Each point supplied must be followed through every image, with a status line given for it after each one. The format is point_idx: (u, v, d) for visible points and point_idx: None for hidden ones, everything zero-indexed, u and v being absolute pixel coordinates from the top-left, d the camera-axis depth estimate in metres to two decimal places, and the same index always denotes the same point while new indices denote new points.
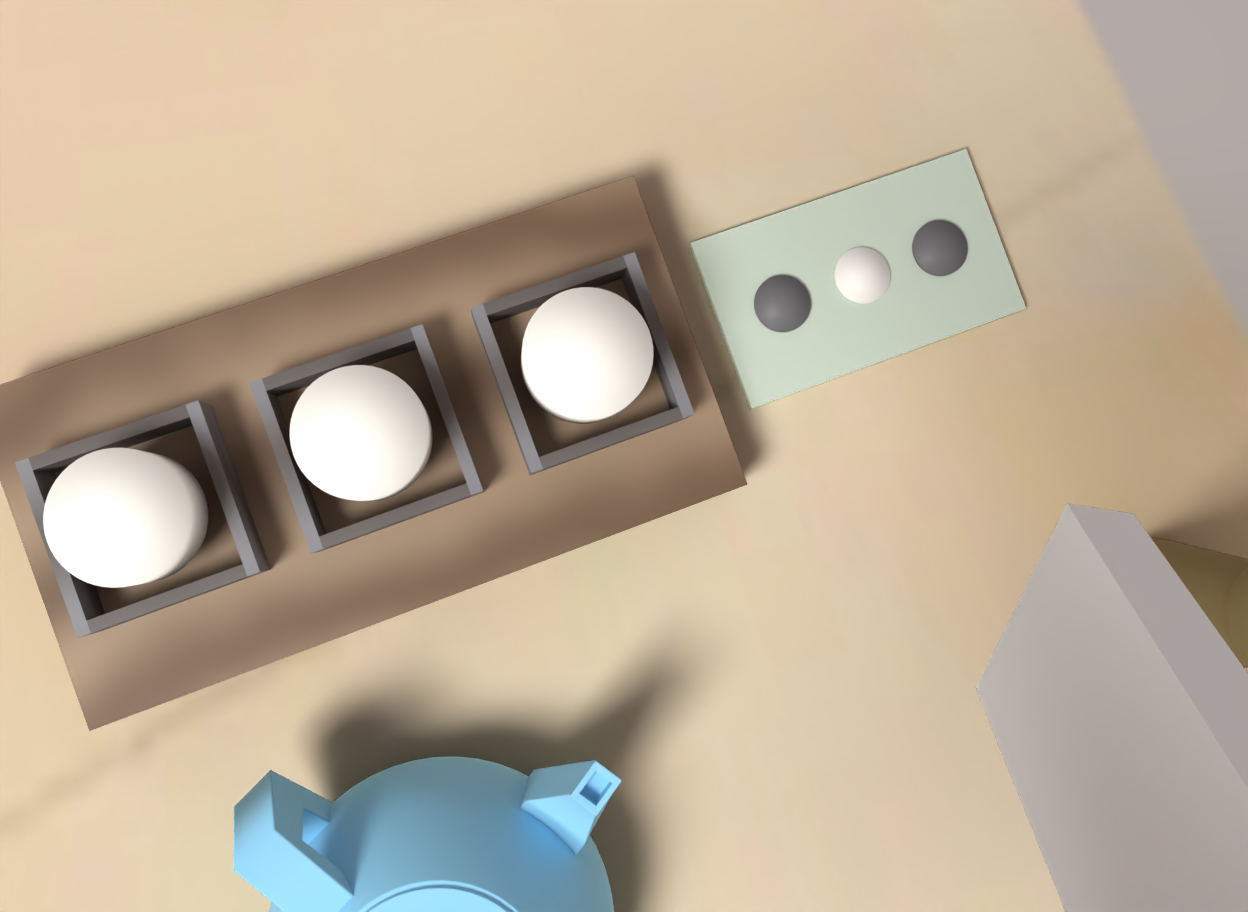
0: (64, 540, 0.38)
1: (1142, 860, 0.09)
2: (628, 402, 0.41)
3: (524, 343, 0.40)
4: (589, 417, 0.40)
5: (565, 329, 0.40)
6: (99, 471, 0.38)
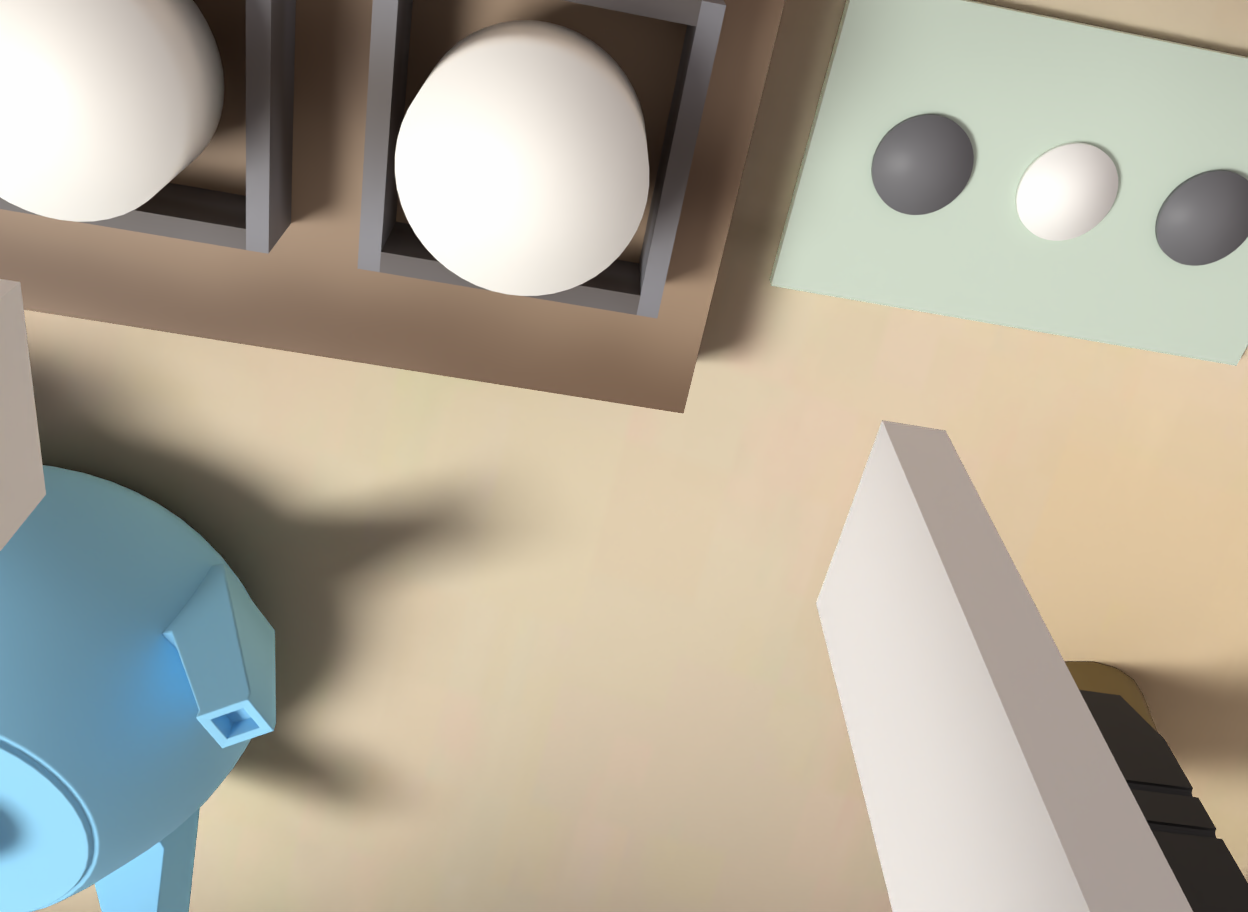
0: None
1: (912, 730, 0.10)
2: (545, 291, 0.22)
3: (417, 101, 0.20)
4: (469, 278, 0.22)
5: (504, 118, 0.20)
6: None
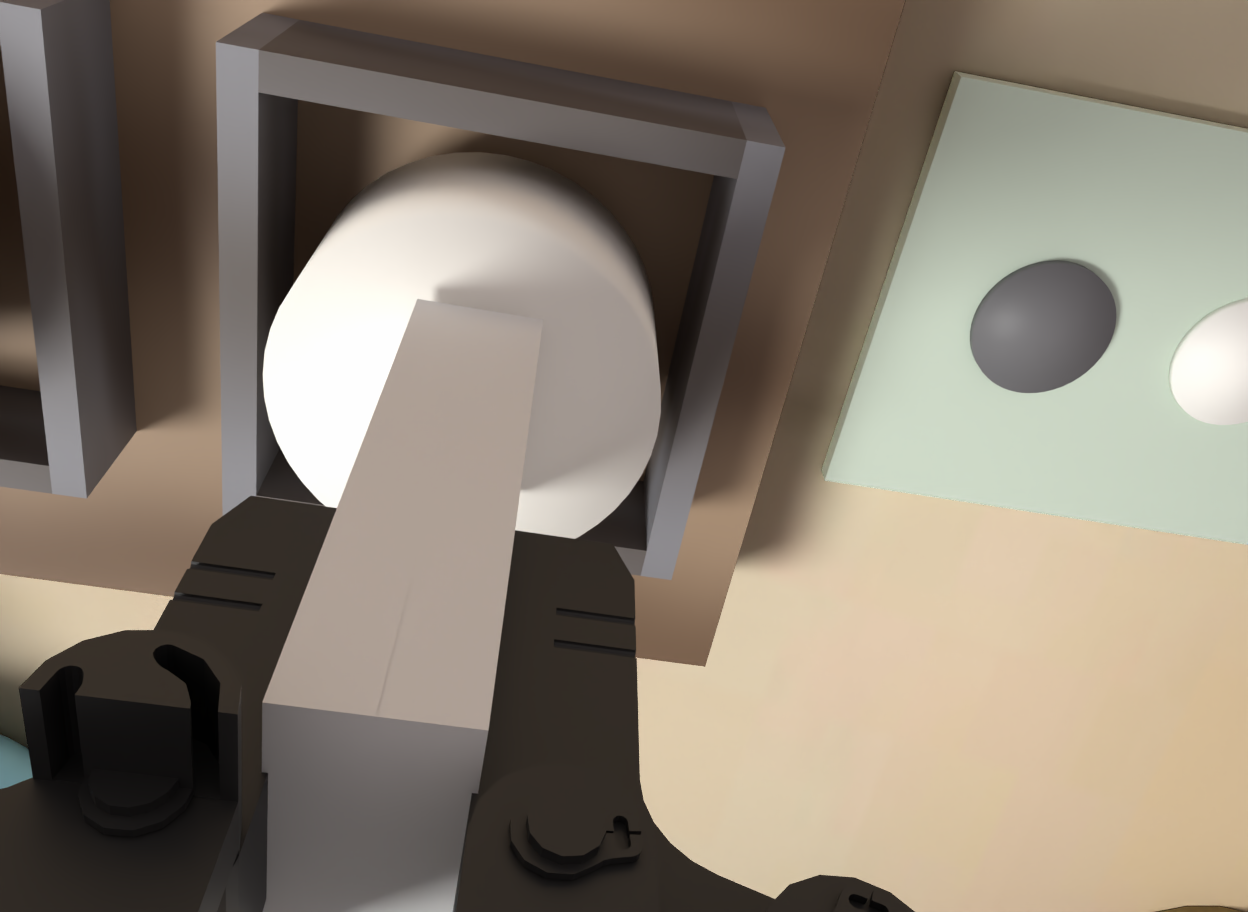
0: None
1: None
2: None
3: (293, 296, 0.13)
4: None
5: None
6: None
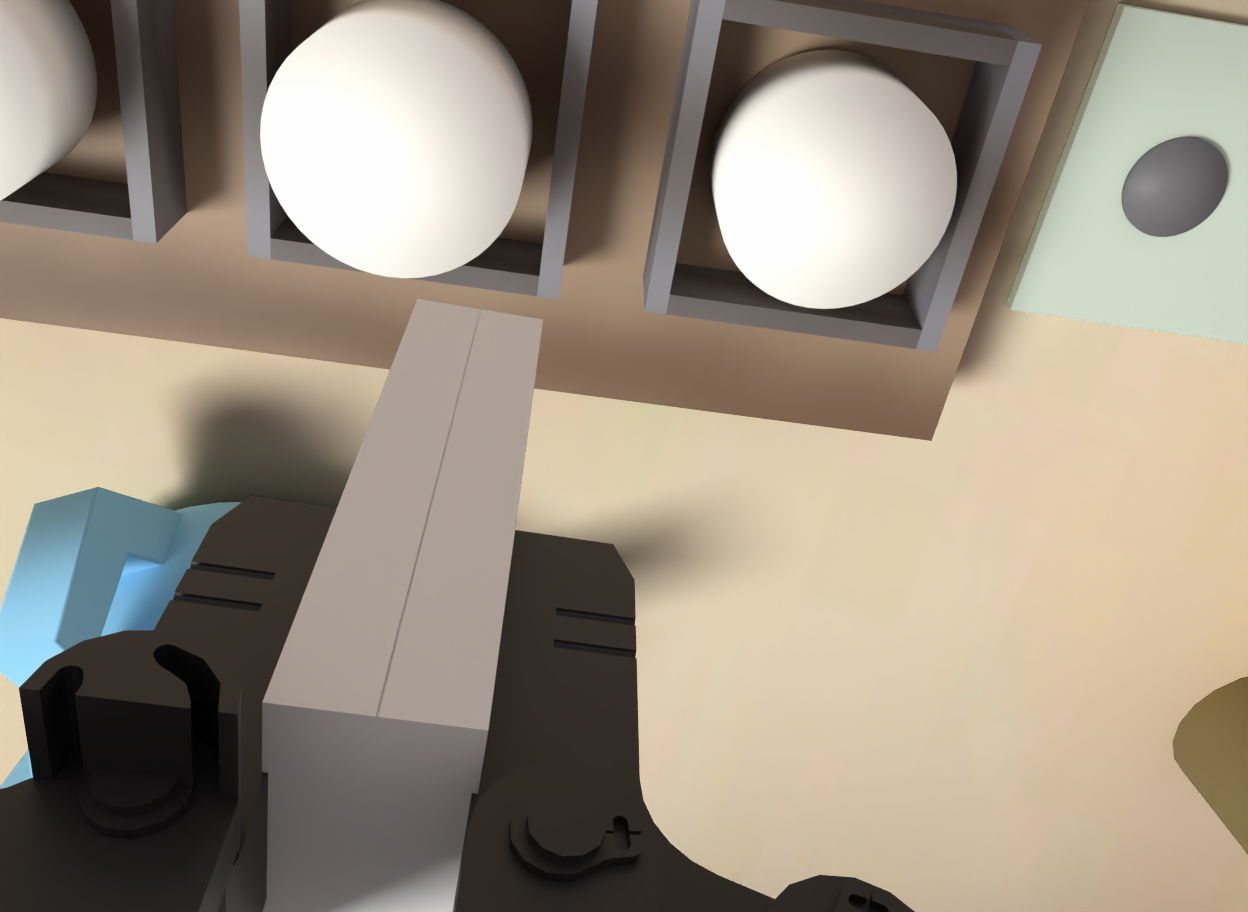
0: None
1: None
2: (844, 304, 0.24)
3: (747, 131, 0.22)
4: (773, 294, 0.24)
5: (827, 144, 0.22)
6: None
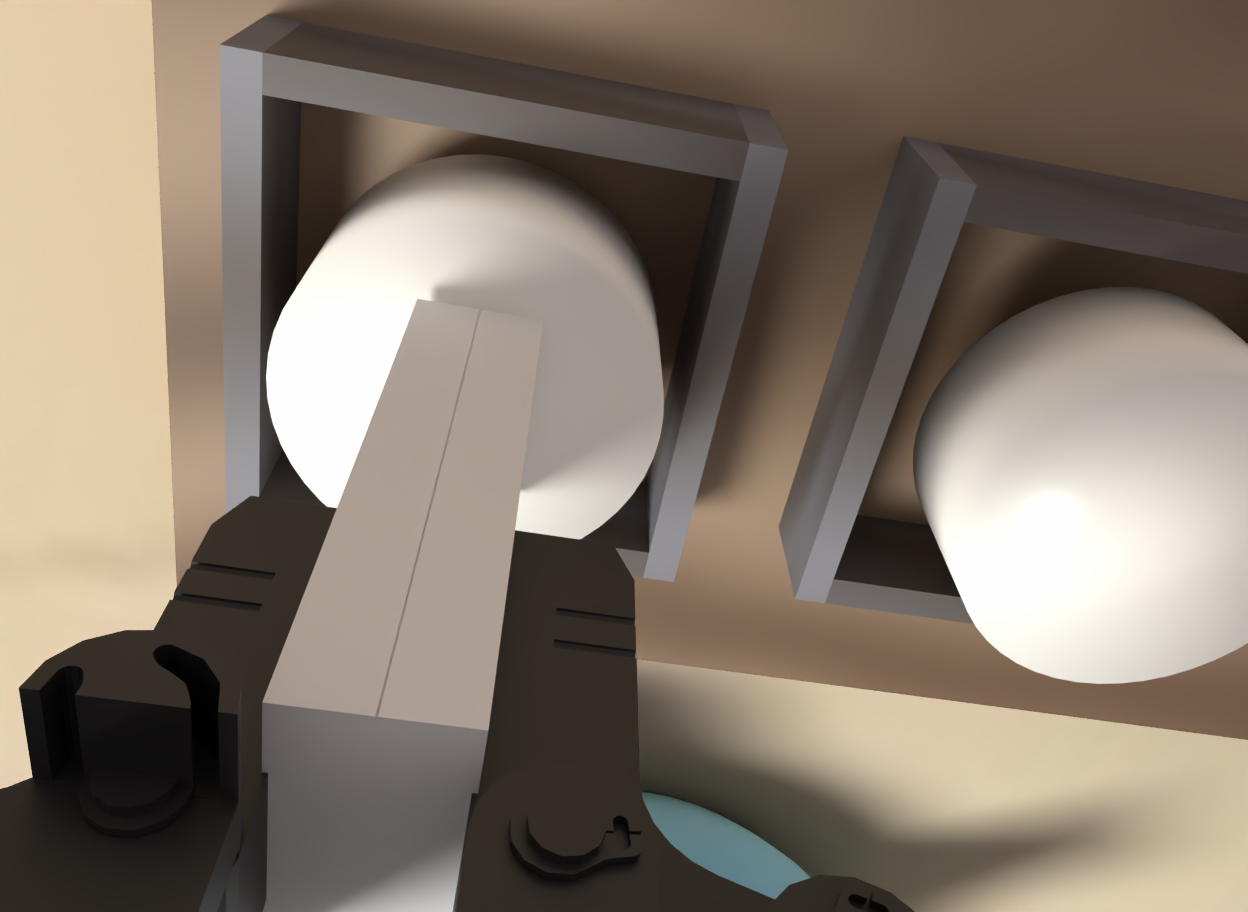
0: (312, 394, 0.13)
1: None
2: None
3: None
4: None
5: None
6: (478, 279, 0.13)
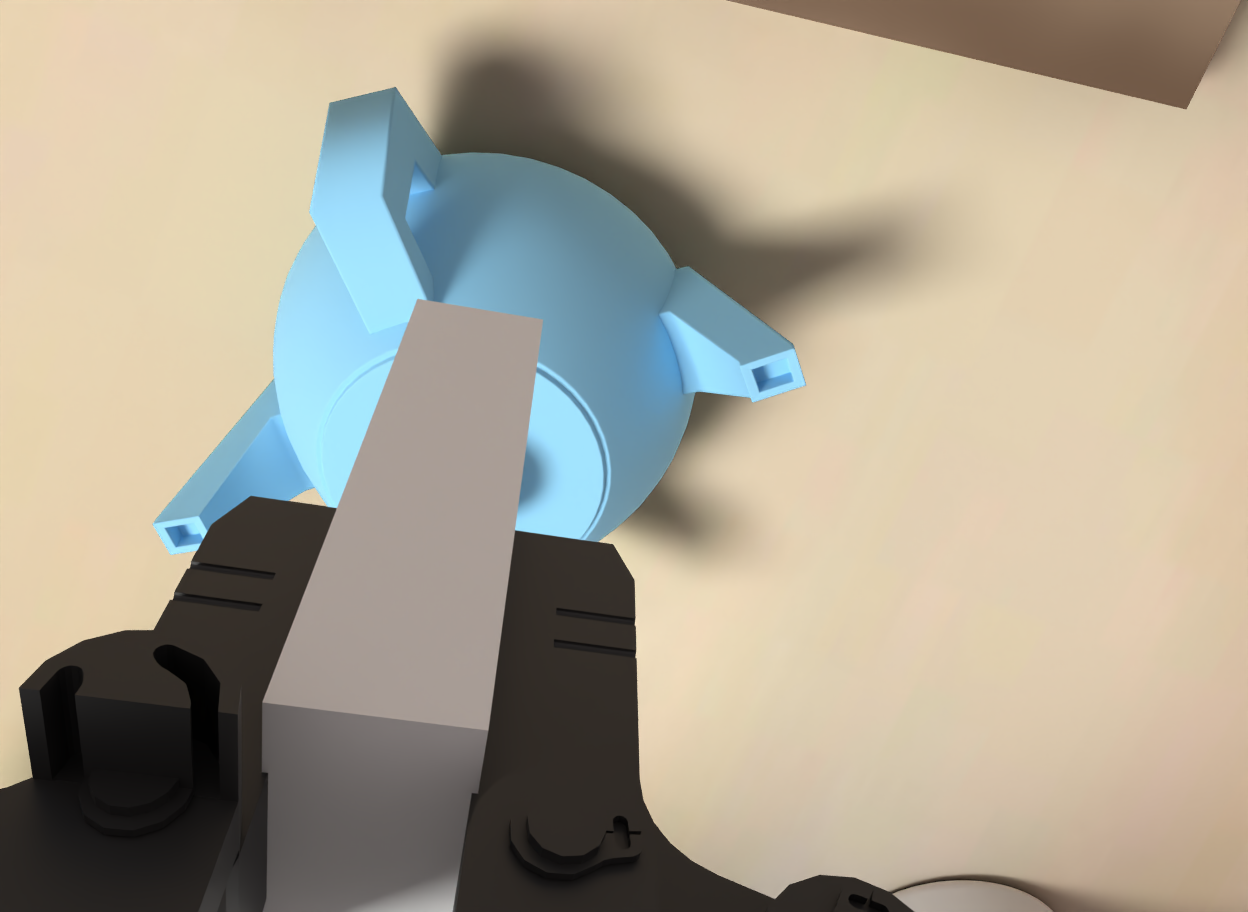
0: None
1: None
2: None
3: None
4: None
5: None
6: None
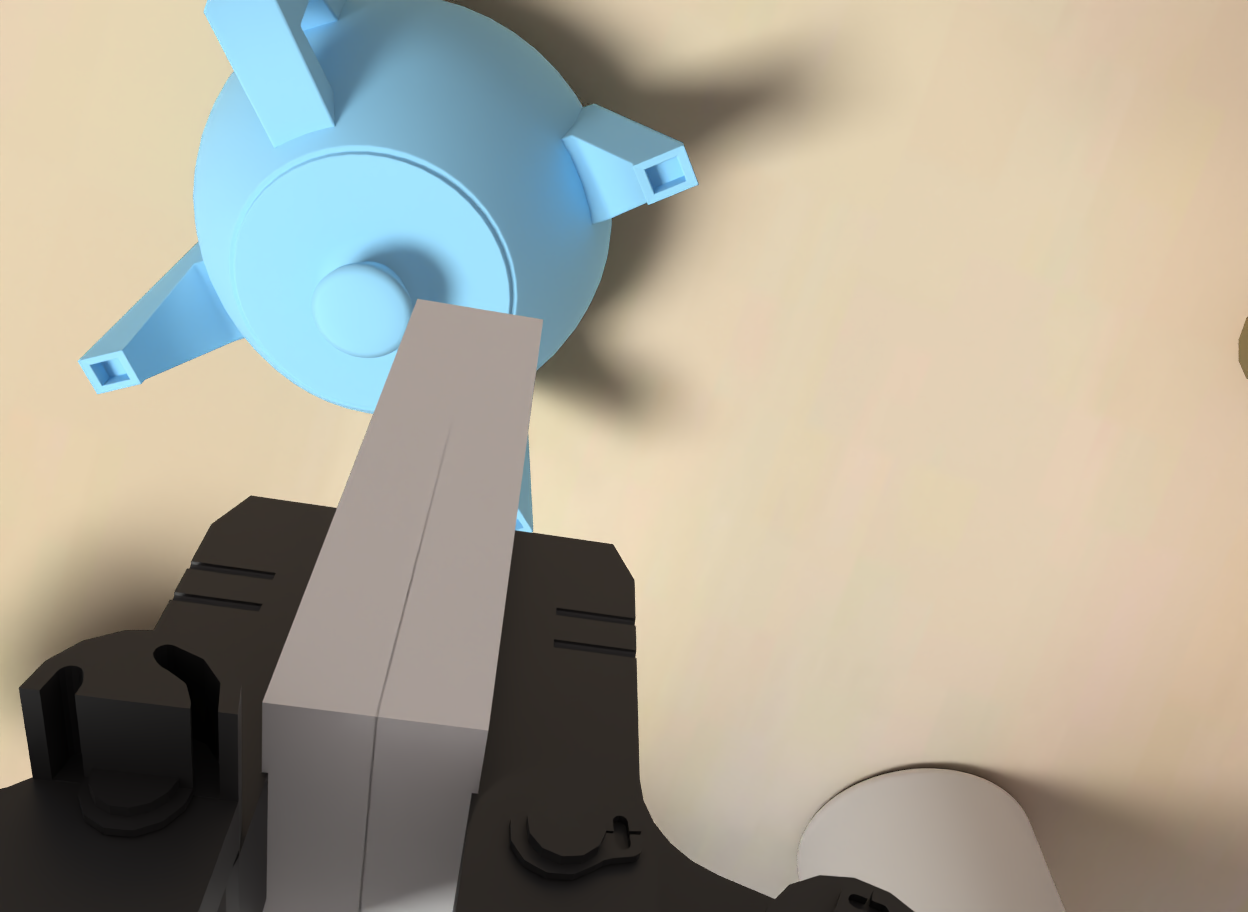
0: None
1: None
2: None
3: None
4: None
5: None
6: None
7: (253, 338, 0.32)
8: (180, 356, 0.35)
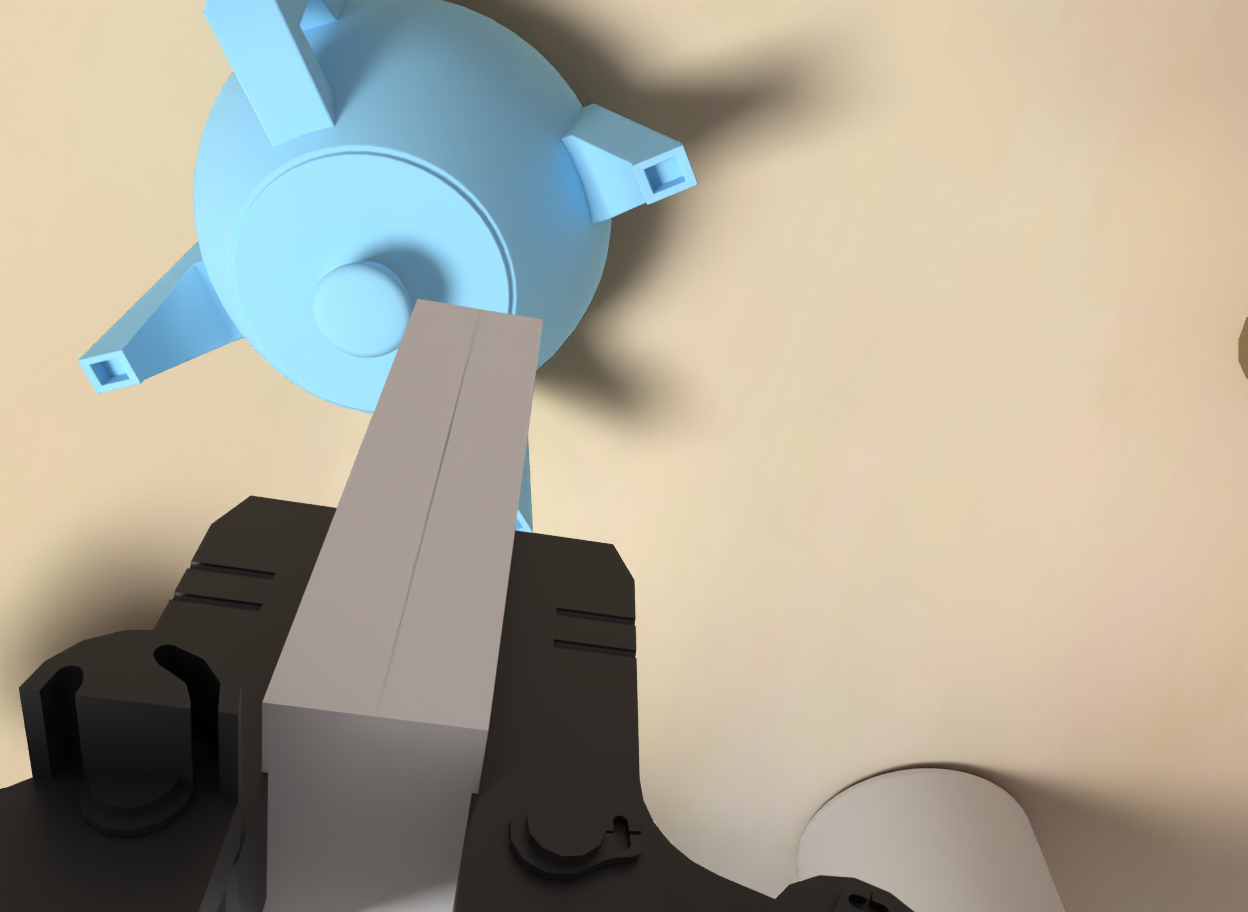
0: None
1: None
2: None
3: None
4: None
5: None
6: None
7: (252, 338, 0.32)
8: (180, 356, 0.35)
